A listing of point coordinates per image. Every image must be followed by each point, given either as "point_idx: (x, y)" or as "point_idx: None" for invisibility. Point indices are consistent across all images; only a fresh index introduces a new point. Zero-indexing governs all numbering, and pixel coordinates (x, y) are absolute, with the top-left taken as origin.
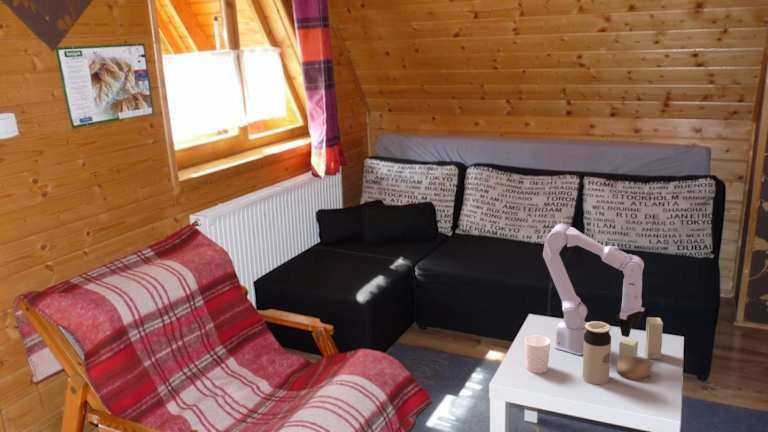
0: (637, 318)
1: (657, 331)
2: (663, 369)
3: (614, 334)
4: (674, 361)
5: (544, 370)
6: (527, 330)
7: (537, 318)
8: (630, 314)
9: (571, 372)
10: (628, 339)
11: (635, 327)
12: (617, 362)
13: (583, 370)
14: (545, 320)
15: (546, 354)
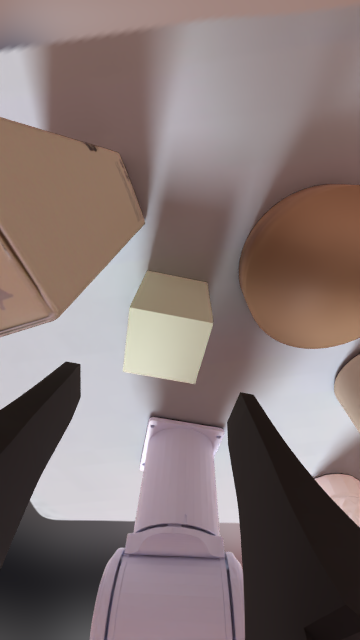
0: (24, 443)
1: (54, 188)
2: (234, 117)
3: (2, 368)
4: (100, 53)
5: (356, 482)
6: (130, 519)
7: (53, 514)
8: (16, 514)
9: (342, 432)
10: (141, 353)
11: (76, 376)
12: (323, 347)
13: None
14: (51, 503)
15: None
